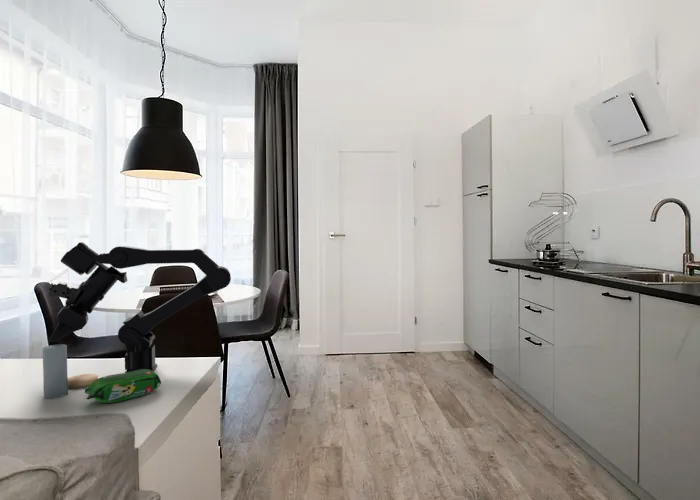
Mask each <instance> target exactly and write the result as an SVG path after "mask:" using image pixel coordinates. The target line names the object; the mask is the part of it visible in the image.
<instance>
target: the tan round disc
mask: <svg viewBox="0 0 700 500" xmlns="http://www.w3.org/2000/svg"><path fill="white" fill-rule="evenodd" d="M96 379H99V376H98V374H97V373H84V374H83V373H82V374H77V375H73V376H70V377H68V389H72V390H73V388H75V389H81V387H83V388H87V387H88V386H89V385H90V384H91V383H92V382H93V381H95V380H96Z"/></svg>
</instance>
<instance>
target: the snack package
mask: <svg viewBox="0 0 700 500" xmlns="http://www.w3.org/2000/svg"><path fill="white" fill-rule="evenodd" d="M161 384H162V380H161V377H160V376H159V374H157V373H156V371H155V372H154V370H153V371H150V370H148V369H140V370H135V371H130V372H121V373H115V374H108V375H105V376H101V377H98V379H96V380H95V381H93V382H92V383H91V384H90V385H89V386H87V387H85V389H84V393H85V394H87V395H88V396H87V397H86V398H85V397H84V398H83V399H85V400H92V399H95V400H96V401H98V402H100V403H103V404H112V403H116V402H117V403H118V402H123V401H127V400H130V399H135V398H139V397H143V396H147V395H150V394H151V393H153V392H155V391H156V390H157V389H158V388H159V387H160V386H161Z"/></svg>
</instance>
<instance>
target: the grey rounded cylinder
mask: <svg viewBox="0 0 700 500" xmlns="http://www.w3.org/2000/svg"><path fill="white" fill-rule="evenodd" d="M67 347H68V345H67V344H63V343H62V344H61V343H60V344H58V343H57V344H52V345H51V344H50V345H46V346H43V347H42V374H43V375H42V377H43V398H44V399H46V400H50V399H57V398H58V399H59V398H61V397H64V396H67V395H68V394H69V388H68V378H69V377H68V348H67Z"/></svg>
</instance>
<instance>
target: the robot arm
mask: <svg viewBox="0 0 700 500" xmlns="http://www.w3.org/2000/svg"><path fill="white" fill-rule="evenodd" d="M60 262H61V264H63V265H64V266H66V267H68V268H69V269H71V270H73V272H75V273H76V274H78V275H79V276H83V275H84V274H85V275H88V276H89V274H90V276H89V277H88V278H86V280H84V281H82V282H81V283H80V284H78V283H77V284H76V283H73V282H70V281H65V280H61V279H53V280H52V282H51V284H50V286H49V289H48V291H47V295H48V296H50V297H57V298H63V299H66V300H65V304H64V306H63V307H61V309H60V311H59V312H58V313H57V315H56V319H57V322H58V323H57V325H56V327H55V329H54V330H53V333H52V334H51V336H50V337H49V339H48V341H49V342H51V343H55V342H57V341H58V340H59V341H60V339H62V338H65V337H67V336H69V335H71V334H72V333H75V332H77V331H80V330H83V329H84V327H85V326H86V325H87V324H88V321H89V316H88V314H91V313H92V312H93V310H94V308H95V307H96V306H97V305H98V303H99V302H102V301H103V299H104V298H105V296H106V295H107V293H108V292H109V291H110V290H111V289H112V287H113V286H114V285H115V284H116V283H117V282H118V281H119V282H120V283H122V284H125V283H127V282H128V276H127V271H124V272H122V271H119V270H118V269H120V270H121V269H122V270H123V269H127V268H132V267H133V268H135V267H137V266H138V267H139V266H143V265H148V264H149V265H151V264H152V265H153V264H158V265H159V264H194V265H195V266H196V267H197V268H198V269H200V271H201V272H202V273H203V274H204V276H203V277H202V278H201V279H200V280H199V281H198V282H197V283H196V284H194V285H192V286H191V287H189V288H188V289H186V290H185V291H182V292H181V293H179V294H178V295H176V296H174V297H173V298H171V299H169V300H168V301H166V302H165V303H163V304H162V305H160V306H158V307H156V308H155V309H153V310H152V311H149V312H146V313H144V312H143V310H142V309H141V310H140V311H138V312H137V313H136V314H135V315H133V316H129V317H128V318H126V319H125V320H124V321H123V322H122V324H123V325H121V326H120V328H119V329H118V332H117V337H118V340H119V341H120V342H121V343H122V344H124V346H125V348H126V353H125V354H124V370H125V372H130V371H135V370H140V369H148V370H150V371H153V372H154V370H155V369H156V368H157V366H158V364H157V363H156V345H155V344H153V343H154V341H155V339H156V335H155V334H154V333H153V332H152V330H153V329H154V328H156V327H157V326H158V325H159V324H161V323H163V322H164V321H165V320H166V319H167V320H168V319H169V318H170V317H172V316H173V315H175V314H176V313H178V312H180V311H181V310H183V309H185V308H186V307H188V306H189V305H190V304H192V303H194V302H195V301H197V300H199V299H201V298H203V297H204V296H208V295H210V294H212V293H216V292H218V291H220V290H222V289H225V288H227V287H228V286H229V285H230V283H231V279H232V278H231V272H230V270H229V268H227V267H225V266H219V264H217V262H215V261H214V260H213V259H212V258H211V257H209V256H208V255H207V254H205V251H203V250H202V248H201V249H200V248H194V249H193V248H192V249H146V248H141V247H135V246H129V245H122V246H115V247H113V248H111V249H110V251H109V252H108V253H105V252H104V253H97V252H96V251H95V250H93V249H92V248H90V247H89V246H88V245H87V243H84V242H83V241H82V242H80V241H79V242H78V243H77V244H76V245H74V247H72V248H71V249H70V250H69V251H67V252H66V253H64V255H63V256H62V258H61V259H60ZM107 265H111V266H109V267H108V266H107ZM125 372H124V373H125Z"/></svg>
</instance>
